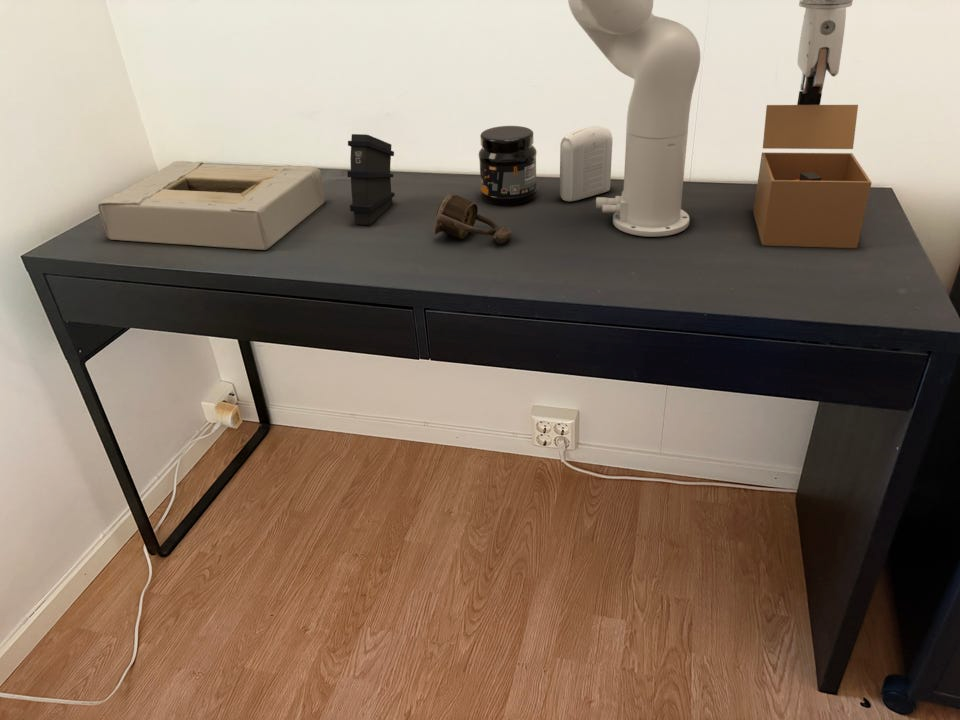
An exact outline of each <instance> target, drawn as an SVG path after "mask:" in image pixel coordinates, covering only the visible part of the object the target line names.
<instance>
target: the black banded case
mask: <svg viewBox="0 0 960 720" xmlns="http://www.w3.org/2000/svg"><path fill="white" fill-rule="evenodd" d="M347 146H348V147H350V156H349V157H350V170H347V174H346V175H347V178H350V188H351V189H350V190H351V191H350V192H351V201H352V202H351V204H350V205H349V211H350V212H352V213H353V217H354V224H355V225H357V226H372V224H374V223H375V221H376V220H378V219H379V218H380V217H381V216H382V215H383V214H384V213H385V212H386V211H387V210H388V209H390V207H391V206H393V198H394V197H395V196H396V194H395V192H394V191H392V182H391V181H392V179H391V178H394V173H391V162H392V160H391V159H392V157H395V151H393V150H392V144H391V143H390V142H387V141H384V140H382V139H379V138H377V137H374V136H372V135H370V134H366V133H365V134H362V133H361V134H360V133H352V134H351V139H350V140H347Z"/></svg>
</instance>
